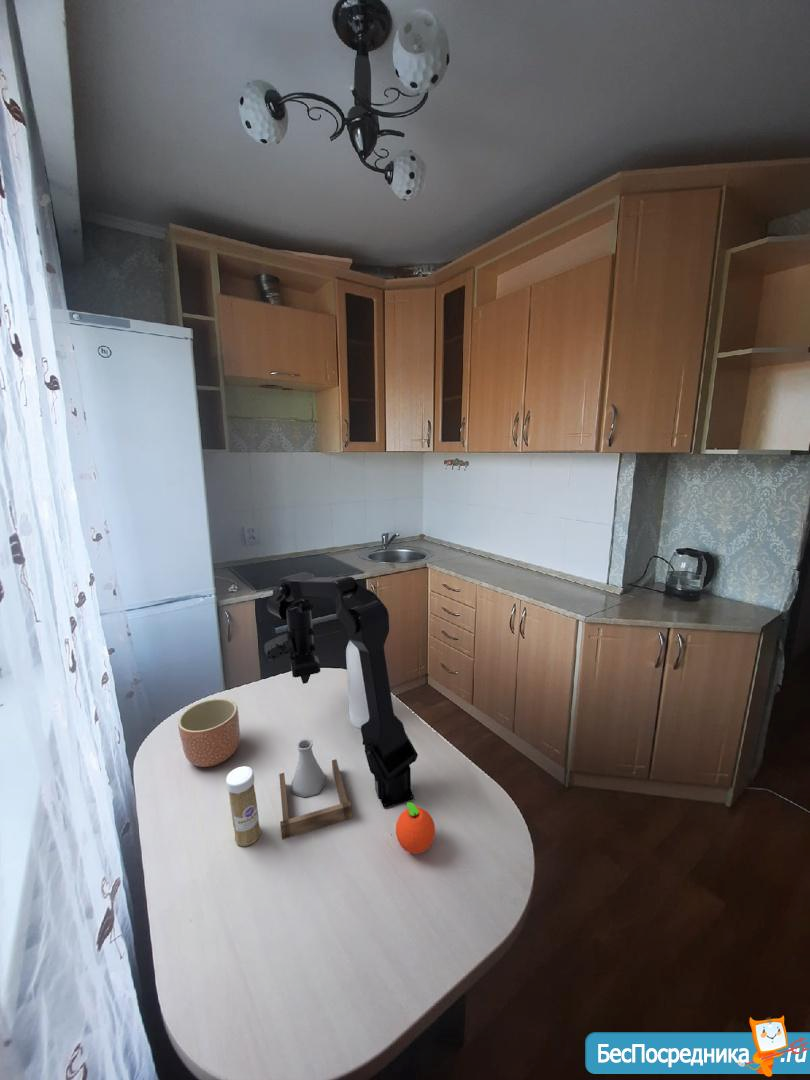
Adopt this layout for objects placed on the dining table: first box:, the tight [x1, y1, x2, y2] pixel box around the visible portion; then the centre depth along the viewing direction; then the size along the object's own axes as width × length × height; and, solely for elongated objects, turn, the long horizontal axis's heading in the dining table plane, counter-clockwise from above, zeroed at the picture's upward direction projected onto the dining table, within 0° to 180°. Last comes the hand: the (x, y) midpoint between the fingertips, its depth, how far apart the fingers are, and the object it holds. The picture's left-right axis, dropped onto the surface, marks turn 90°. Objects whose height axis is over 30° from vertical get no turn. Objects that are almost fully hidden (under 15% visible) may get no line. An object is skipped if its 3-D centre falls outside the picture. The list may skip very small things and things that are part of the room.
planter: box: [177, 697, 241, 768], centre depth 99 cm, size 12×12×11 cm
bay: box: [278, 758, 353, 840], centre depth 86 cm, size 13×13×3 cm
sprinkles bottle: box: [225, 765, 262, 847], centre depth 78 cm, size 5×5×14 cm
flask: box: [291, 738, 326, 798], centre depth 90 cm, size 7×7×10 cm
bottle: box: [345, 640, 369, 729], centre depth 108 cm, size 8×8×30 cm
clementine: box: [395, 801, 436, 855], centre depth 77 cm, size 8×7×7 cm
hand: (305, 682), depth 107 cm, fingers closed
